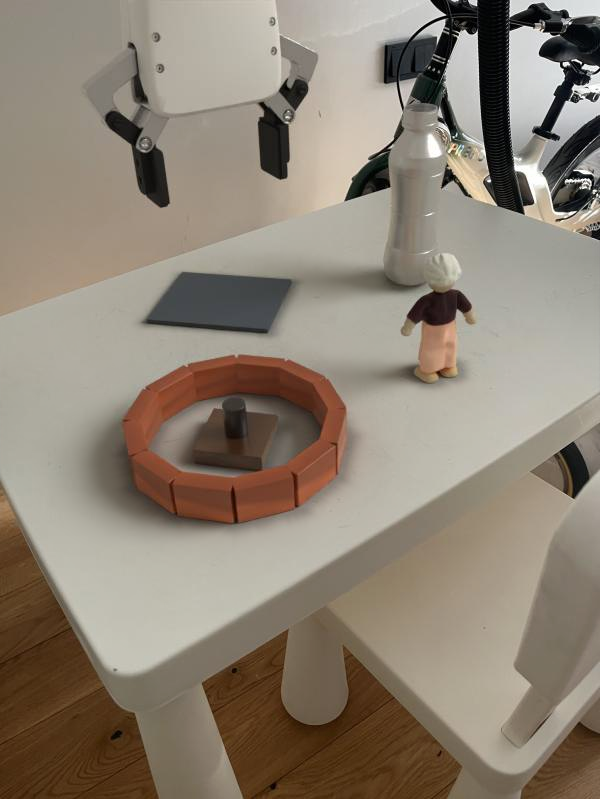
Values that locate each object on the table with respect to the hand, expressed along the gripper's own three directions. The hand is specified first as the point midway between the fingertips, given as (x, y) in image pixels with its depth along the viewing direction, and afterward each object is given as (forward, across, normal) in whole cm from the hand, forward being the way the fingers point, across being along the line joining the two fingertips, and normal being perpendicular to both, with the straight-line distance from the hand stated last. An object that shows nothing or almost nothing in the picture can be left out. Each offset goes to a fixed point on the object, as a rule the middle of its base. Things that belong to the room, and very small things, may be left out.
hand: (217, 187), depth 55 cm
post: (+22, +2, +3) cm, 22 cm away
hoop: (+22, +2, +3) cm, 22 cm away
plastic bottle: (+22, -30, -13) cm, 39 cm away
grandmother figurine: (+22, -19, +4) cm, 29 cm away
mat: (+22, -8, -21) cm, 31 cm away
